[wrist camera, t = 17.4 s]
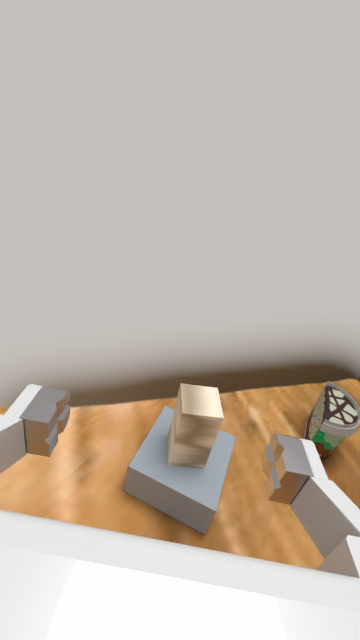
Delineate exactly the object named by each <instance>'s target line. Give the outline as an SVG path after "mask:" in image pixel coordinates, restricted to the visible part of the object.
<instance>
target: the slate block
mask: <svg viewBox="0 0 360 640" xmlns="http://www.w3.org/2000/svg"><path fill="white" fill-rule="evenodd" d="M173 412H174V409H172V408H169V407H167V406H165V408H164V409H163V411H162V412H161V414H160V416H159V417H158V419H157V421H156V422H155V424H154V425H153V427H152V429H151V430H150V432H149V434H148V435H147V437H146V438H145V440H144V442H143V443H142V445H141V447H140V448H139V450H138V451H137V453H136V455H135V456H134V458H133V460H132V461H131V463H130V464H129V466H128V471H127V477H126V483H125V489H124V491H125V492H126V493H128V494H130V495H132V496H134V497H136V498H138V499H139V500H141V501H143V502H145V503H147V504H149V505H150V506H152V507H154V508H156V509H158V510H160V511H162V512H163V513H165V514H167V515H169V516H171V517H173V518H174V519H176V520H178V521H180V522H182V523H184V524H186V525H187V526H189V527H191V528H193V529H195V530H197V531H199V532H200V533H202V534H204V535H205V534H206V532H207V530H208V527H209V525H210V523H211V521H212V519H213V517H214V515H215V513H216V510H217V506H218V502H219V498H220V495H221V491H222V487H223V483H224V479H225V476H226V472H227V468H228V464H229V460H230V457H231V453H232V449H233V445H234V442H235V438H236V437H234V436H232V435H230V434H228V433H225V432H223V431H221V430H219V431H218V434H217V437H216V439H215V442H214V445H213V447H212V450H211V453H210V455H209V458H208V460H207V463H206V466H205V468H204V469H201V468H190V467H179V466H168V432H169V428H170V424H171V420H172V416H173Z"/></svg>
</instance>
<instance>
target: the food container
mask: <svg viewBox="0 0 360 640" xmlns="http://www.w3.org/2000/svg"><path fill="white" fill-rule="evenodd" d="M359 425H360V408H359V406H358V405H357V403H356V402H355V401H354V399H353V398H352V397H351V396H350V395H349V394H348V393H346V392H345V391H344V390H342V389H341V388H340V387H338V386H336V385H334V384H333V383H331V382H327V384H326V385H325V387H324V390H323V391H322V393H321V395H320V397H319V399H318V401H317V402H316V404H315V406H314V408H313V410H312V411H311V413H310V415H309V417H308V419H307V420H306V426H305V432H304V439H306V440H311V441H312V442H313V443H314V444H315V447H316V450H317V452H318V455H319V457H320V459H324V458H326V457H328V456H329V455H330V454H331V453H332V452H333V451H334V449H335V448H336V447H337V446H338V445H339V444H340V443H341V442H342V440H343V439H344V438H345V437H346V436H350V435H353V434H355V433H356V432H357V430H358V428H359Z"/></svg>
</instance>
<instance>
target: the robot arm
mask: <svg viewBox="0 0 360 640" xmlns="http://www.w3.org/2000/svg"><path fill="white" fill-rule="evenodd" d="M69 400H70V393H69V392H66V391H62V390H57V389H53V388H49V387H43V386H39V385H35V384H30V385H28V386H27V387H26V388H25V389H24V391H23V392H22V393H21V394H20V395H19V397H18V398H17V399H16V400H15V402H14V403H13V404H12V405H11V407H10V408H9V409H8V410H7V412H6V413H5V414H4V415H0V474H1V473H2V472H3V471H5V470H6V469H7V468H9V467H10V466H11V465H13V464H14V463H15V462H17V461H18V460H20V459H21V458H22V457H24V456H25V455H26V453H29V454H35V455H41V456H47V457H50V455H51V453H52V451H53V450H54V448H55V446H56V444H57V442H58V434H60V433H62V432H63V431H64V429H65V427H66V425H67V422H68V419H69V414H70V407H69V405H68V402H69ZM269 440H270V445H268V446H266V447H265V449H264V451H263V455H262V468H263V472H264V473H265V475H266V476H267V477H268V478H267V480H266V482H265V485H266V490H267V495H268V500H271V501H275V502H280V503H284V504H289V505H290V507H291V508H292V510H293V511H294V513H295V514H296V516H297V518H298V519H299V521H300V522H301V524H302V525H303V527H304V528H305V530H306V531H307V533H308V534H309V536H310V537H311V539H312V540H313V542H314V544H315V545H316V547H317V548H318V550H319V551H320V553H321V554H322V556H323V557H324V560H323V561H322V562H321V563H320V565H319V566H318V567H317V568H316V569H315V570H314V569H309V568H304V567H298V566H293V565H288V564H283V563H277V562H272V561H267V560H262V559H256V558H251V557H246V556H241V555H236V554H230V553H225V552H220V551H215V550H209V549H204V548H199V547H194V546H189V545H183V544H178V543H173V542H168V541H162V540H157V539H152V538H147V537H141V536H136V535H131V534H126V533H120V532H115V531H110V530H105V529H99V528H94V527H89V526H84V525H78V524H73V523H68V522H63V521H57V520H52V519H47V518H42V517H36V516H31V515H26V514H21V513H15V512H10V511H5V510H0V640H360V509H359V508H358V507H357V506H356V505H355V504H354V503H353V502H352V501H351V500H350V499H349V498H348V497H347V496H346V495H345V494H344V493H343V492H342V491H341V490H340V488H339V487H338V486H337V485H336V484H335V483H334V482H333V481H331V480H328V478H327V475H326V473H325V470H324V467H323V465H322V462H321V460H320V457H319V455H318V452H317V450H316V447H315V444H314V443H313V442H312V441H311V440H306V439H301V438H296V437H291V436H285V435H280V434H275V433H274V434H273V435H272V436H271V437H270V439H269Z"/></svg>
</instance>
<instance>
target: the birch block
mask: <svg viewBox="0 0 360 640" xmlns="http://www.w3.org/2000/svg"><path fill="white" fill-rule="evenodd" d="M223 418H224V417H223V412H222V407H221V402H220V397H219V392H218V388H213V387H204V386H197V385H189V384H181V385H180V389H179V393H178V397H177V401H176V404H175V408H174V412H173V416H172V420H171V424H170V428H169V432H168V466H179V467H190V468H201V469H204V468H205V466H206V463H207V460H208V458H209V455H210V453H211V450H212V447H213V445H214V442H215V439H216V437H217V434H218V431H219V429H220V426H221V424H222V421H223Z"/></svg>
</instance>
